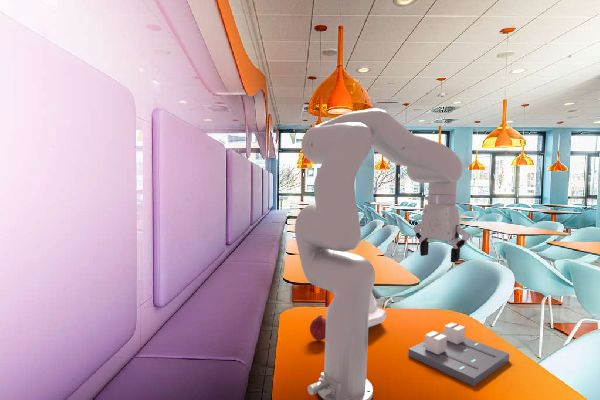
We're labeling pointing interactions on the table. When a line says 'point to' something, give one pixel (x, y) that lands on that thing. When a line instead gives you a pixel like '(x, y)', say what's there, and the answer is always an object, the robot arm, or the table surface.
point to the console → (462, 359)
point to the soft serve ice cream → (375, 313)
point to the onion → (318, 328)
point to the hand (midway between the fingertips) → (438, 258)
